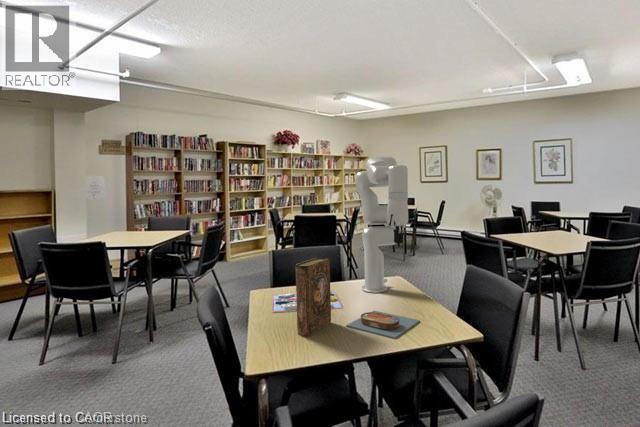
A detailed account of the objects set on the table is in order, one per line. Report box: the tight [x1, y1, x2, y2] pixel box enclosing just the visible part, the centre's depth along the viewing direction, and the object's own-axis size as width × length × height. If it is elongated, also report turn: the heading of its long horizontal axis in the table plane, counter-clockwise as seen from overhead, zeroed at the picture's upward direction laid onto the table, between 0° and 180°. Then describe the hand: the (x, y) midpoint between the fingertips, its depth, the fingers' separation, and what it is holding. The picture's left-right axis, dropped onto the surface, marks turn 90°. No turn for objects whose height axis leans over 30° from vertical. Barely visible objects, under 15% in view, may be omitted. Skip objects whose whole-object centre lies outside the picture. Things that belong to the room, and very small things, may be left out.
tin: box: [360, 311, 400, 330], centre depth 140 cm, size 15×3×8 cm
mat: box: [346, 310, 421, 340], centre depth 142 cm, size 20×20×1 cm
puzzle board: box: [271, 290, 344, 314], centre depth 171 cm, size 30×23×3 cm
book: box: [295, 257, 332, 338], centre depth 139 cm, size 16×6×25 cm, turn 150°
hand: (398, 242), depth 150 cm, fingers closed
